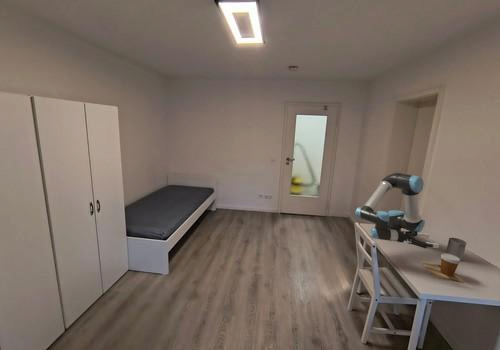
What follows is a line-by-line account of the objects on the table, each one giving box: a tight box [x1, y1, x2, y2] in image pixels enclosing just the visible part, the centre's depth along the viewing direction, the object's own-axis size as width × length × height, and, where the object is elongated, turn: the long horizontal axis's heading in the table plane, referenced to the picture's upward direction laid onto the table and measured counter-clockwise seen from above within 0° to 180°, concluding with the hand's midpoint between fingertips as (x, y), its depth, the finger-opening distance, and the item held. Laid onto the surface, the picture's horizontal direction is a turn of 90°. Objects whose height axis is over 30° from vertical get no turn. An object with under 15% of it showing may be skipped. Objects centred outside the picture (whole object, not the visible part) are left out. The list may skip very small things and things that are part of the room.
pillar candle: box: [445, 237, 467, 262], centre depth 168 cm, size 10×10×15 cm
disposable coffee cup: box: [440, 252, 461, 277], centre depth 147 cm, size 10×10×12 cm
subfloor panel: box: [422, 261, 465, 284], centre depth 151 cm, size 17×16×1 cm
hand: (433, 240), depth 149 cm, fingers open, 13 cm apart
